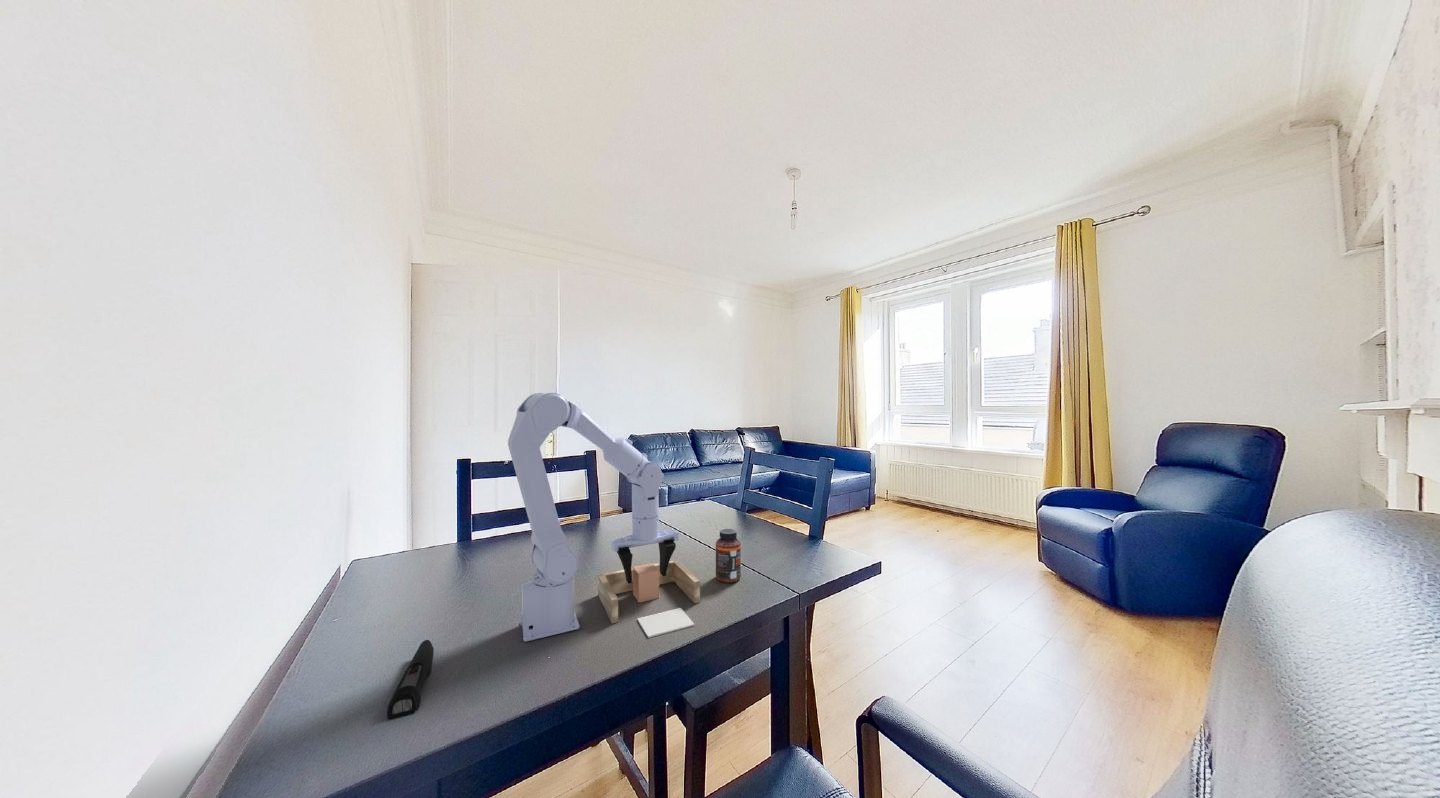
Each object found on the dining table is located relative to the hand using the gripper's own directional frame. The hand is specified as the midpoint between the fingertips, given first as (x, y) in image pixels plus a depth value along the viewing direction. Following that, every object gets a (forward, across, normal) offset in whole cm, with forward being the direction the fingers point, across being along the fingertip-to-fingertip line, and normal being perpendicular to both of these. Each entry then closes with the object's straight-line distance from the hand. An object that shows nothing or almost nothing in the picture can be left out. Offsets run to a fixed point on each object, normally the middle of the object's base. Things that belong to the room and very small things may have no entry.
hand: (646, 577), depth 93 cm
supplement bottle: (+4, -20, 0) cm, 20 cm away
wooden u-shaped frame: (+4, 0, +2) cm, 4 cm away
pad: (+4, 0, +12) cm, 13 cm away
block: (+4, 0, 0) cm, 4 cm away
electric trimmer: (+4, +40, +11) cm, 42 cm away
